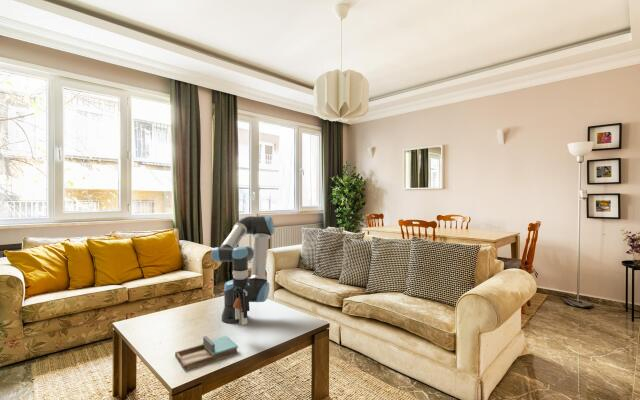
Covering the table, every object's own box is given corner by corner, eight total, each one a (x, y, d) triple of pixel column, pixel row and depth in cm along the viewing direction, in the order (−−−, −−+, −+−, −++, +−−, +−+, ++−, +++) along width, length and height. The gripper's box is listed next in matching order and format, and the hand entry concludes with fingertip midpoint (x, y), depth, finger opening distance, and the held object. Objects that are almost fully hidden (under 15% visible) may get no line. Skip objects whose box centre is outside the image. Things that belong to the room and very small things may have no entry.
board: (175, 356, 153) (175, 352, 152) (224, 342, 167) (224, 337, 167) (184, 370, 141) (184, 365, 141) (236, 353, 156) (236, 348, 156)
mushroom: (234, 321, 172) (234, 293, 172) (250, 320, 173) (249, 292, 172) (232, 327, 164) (231, 298, 164) (248, 327, 165) (247, 298, 164)
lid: (202, 344, 160) (202, 335, 160) (226, 337, 168) (226, 329, 167) (212, 355, 149) (212, 346, 149) (238, 347, 157) (237, 338, 156)
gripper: (225, 274, 173) (226, 316, 174) (242, 283, 157) (242, 330, 158) (239, 272, 178) (239, 313, 179) (256, 280, 162) (256, 325, 163)
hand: (241, 321), depth 169 cm, fingers closed on mushroom, 7 cm apart
